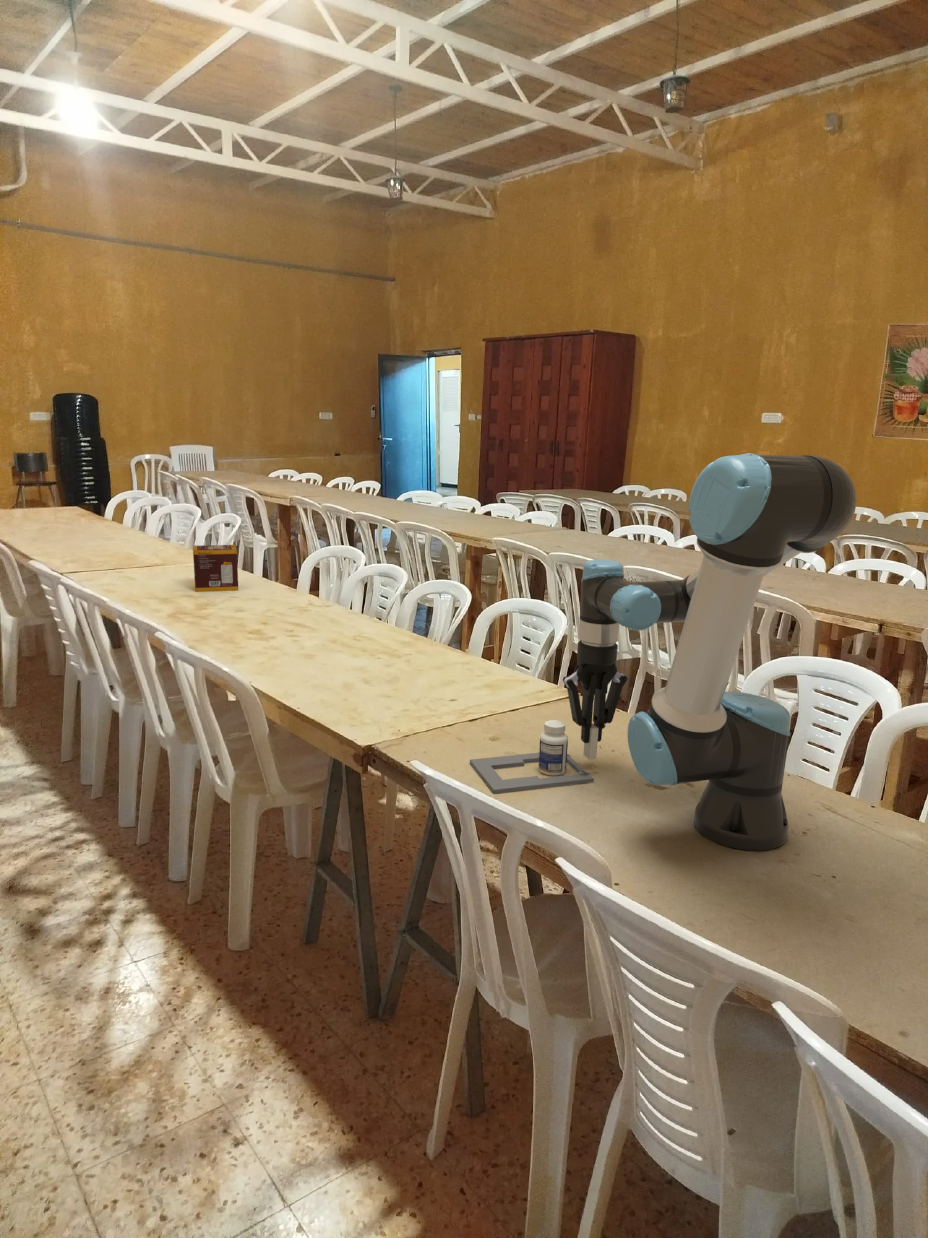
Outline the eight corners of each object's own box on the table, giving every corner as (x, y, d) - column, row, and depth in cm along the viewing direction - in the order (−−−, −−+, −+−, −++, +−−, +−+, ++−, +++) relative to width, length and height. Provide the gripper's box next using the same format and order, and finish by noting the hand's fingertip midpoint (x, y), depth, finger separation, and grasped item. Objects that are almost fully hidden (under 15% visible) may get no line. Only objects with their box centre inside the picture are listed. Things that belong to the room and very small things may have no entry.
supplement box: (194, 586, 318) (192, 545, 314) (237, 585, 323) (235, 544, 319) (195, 592, 308) (192, 549, 305) (238, 590, 313) (237, 548, 309)
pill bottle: (548, 762, 168) (551, 716, 166) (571, 770, 165) (574, 723, 163) (532, 771, 164) (535, 723, 162) (555, 779, 161) (558, 730, 159)
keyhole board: (595, 782, 160) (595, 778, 160) (493, 793, 154) (493, 789, 154) (564, 753, 173) (565, 749, 173) (469, 763, 167) (469, 759, 167)
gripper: (619, 634, 166) (610, 746, 172) (558, 638, 163) (551, 752, 168) (638, 644, 160) (628, 761, 165) (574, 648, 156) (567, 768, 161)
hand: (589, 757), depth 167 cm, fingers closed
